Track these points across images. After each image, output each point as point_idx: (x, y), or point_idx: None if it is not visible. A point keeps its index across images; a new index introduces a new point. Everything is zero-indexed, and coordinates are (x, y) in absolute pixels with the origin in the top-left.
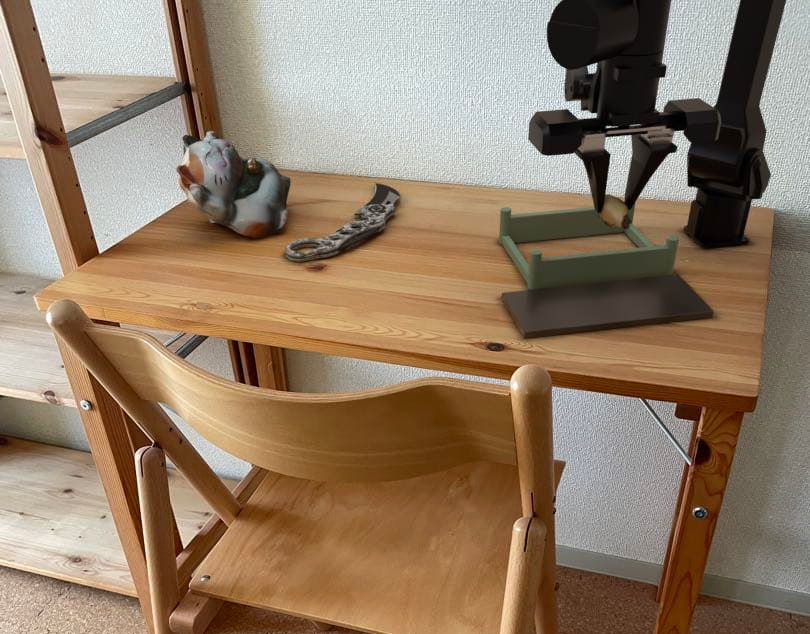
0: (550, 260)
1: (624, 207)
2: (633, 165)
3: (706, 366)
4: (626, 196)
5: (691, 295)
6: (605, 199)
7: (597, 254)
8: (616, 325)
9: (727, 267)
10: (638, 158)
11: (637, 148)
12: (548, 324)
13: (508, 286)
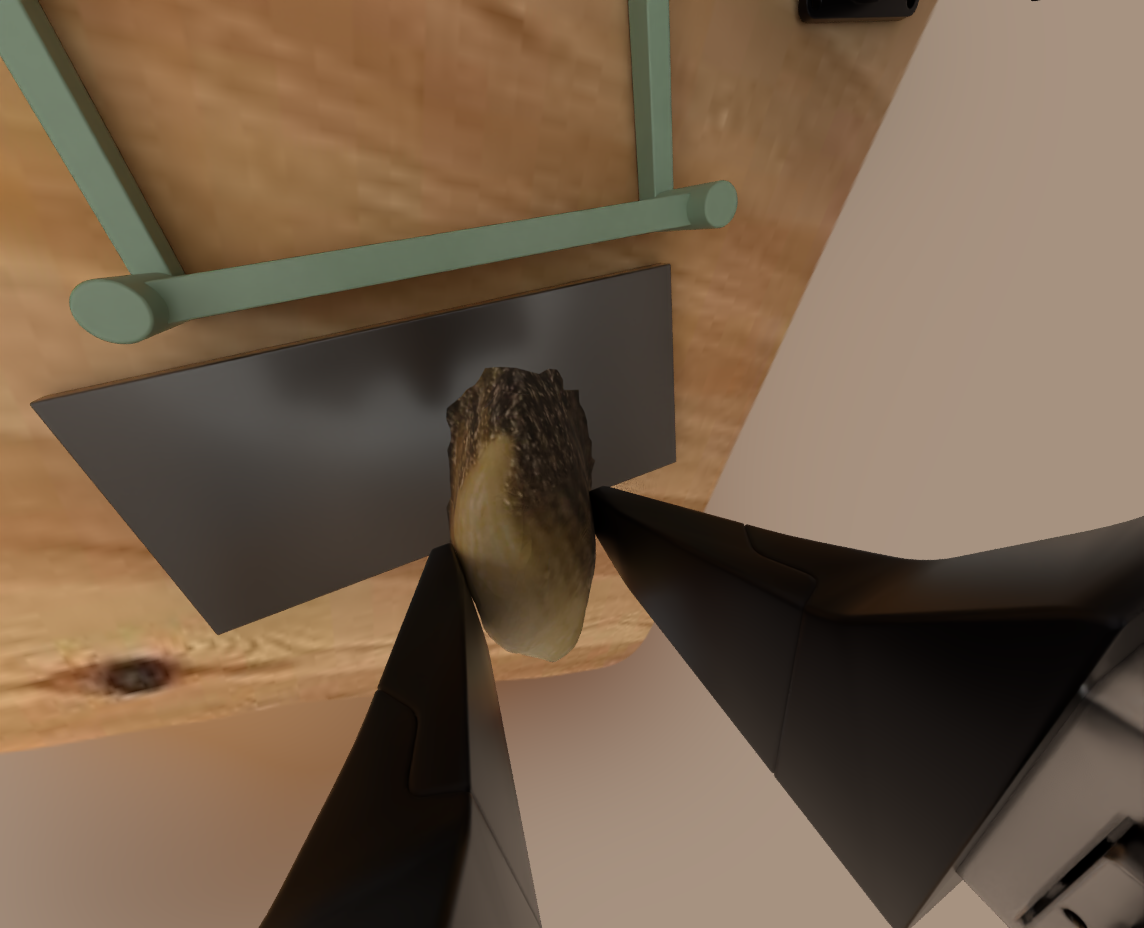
0: (222, 312)
1: (577, 621)
2: (751, 630)
3: (605, 615)
4: (614, 535)
5: (660, 393)
6: (496, 599)
7: (443, 263)
8: None
9: (790, 188)
10: (809, 720)
11: (888, 727)
12: (288, 586)
13: (37, 272)
